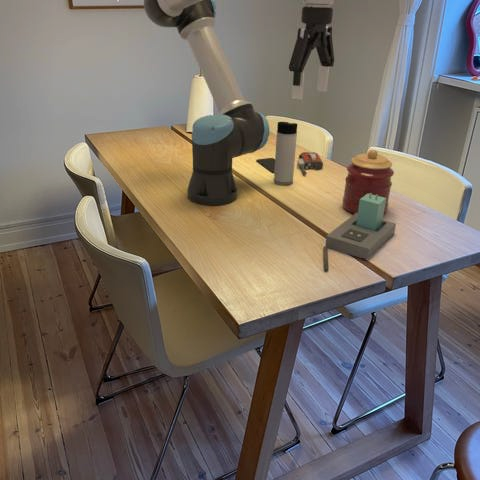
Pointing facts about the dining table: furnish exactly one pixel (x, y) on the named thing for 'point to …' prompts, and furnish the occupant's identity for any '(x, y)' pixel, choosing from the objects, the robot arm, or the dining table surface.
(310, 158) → the walkie-talkie
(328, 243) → the grey flat block
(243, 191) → the dining table surface
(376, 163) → the canister
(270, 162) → the phone
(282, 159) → the travel mug
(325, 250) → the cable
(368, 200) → the charger block
